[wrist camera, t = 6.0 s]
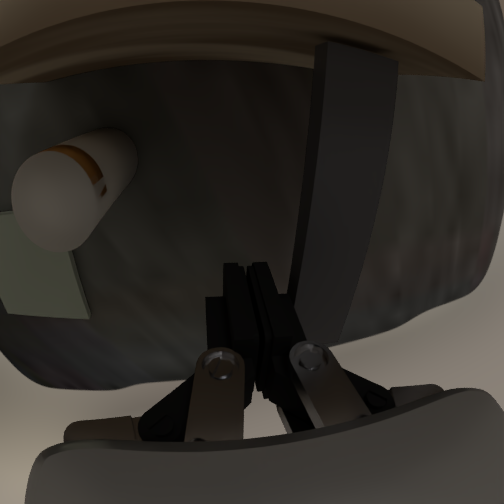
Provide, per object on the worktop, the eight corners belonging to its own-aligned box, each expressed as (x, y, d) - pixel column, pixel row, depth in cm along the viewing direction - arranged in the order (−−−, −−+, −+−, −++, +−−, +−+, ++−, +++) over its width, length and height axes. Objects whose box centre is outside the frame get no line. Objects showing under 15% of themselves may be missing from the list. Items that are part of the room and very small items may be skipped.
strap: (315, 45, 7) (327, 41, 6) (381, 62, 7) (398, 61, 6) (280, 332, 12) (285, 348, 12) (330, 326, 13) (337, 342, 12)
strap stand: (48, 37, 10) (-70, 21, 1) (353, 32, 12) (482, 6, 4) (45, 82, 11) (-81, 99, 3) (350, 76, 14) (484, 81, 5)
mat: (-24, 215, 14) (-28, 219, 13) (62, 205, 15) (58, 208, 15) (10, 309, 18) (7, 313, 18) (91, 313, 20) (89, 319, 19)
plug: (73, 131, 13) (4, 160, 7) (136, 123, 14) (89, 144, 8) (80, 195, 15) (24, 253, 9) (140, 191, 16) (104, 251, 10)
